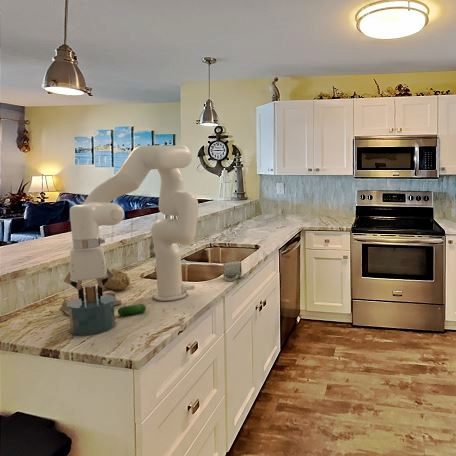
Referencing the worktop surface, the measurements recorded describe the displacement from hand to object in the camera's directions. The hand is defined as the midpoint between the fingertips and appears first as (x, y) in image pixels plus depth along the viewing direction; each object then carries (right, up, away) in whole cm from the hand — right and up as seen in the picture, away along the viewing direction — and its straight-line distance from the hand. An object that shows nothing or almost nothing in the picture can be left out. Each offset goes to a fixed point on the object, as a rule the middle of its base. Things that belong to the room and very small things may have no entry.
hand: (91, 298), depth 133 cm
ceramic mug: (+33, -1, +61) cm, 69 cm away
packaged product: (-12, -7, +21) cm, 25 cm away
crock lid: (0, -1, 0) cm, 1 cm away
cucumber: (+7, -8, +14) cm, 17 cm away
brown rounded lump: (-15, -3, +47) cm, 50 cm away
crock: (0, -10, +1) cm, 10 cm away
